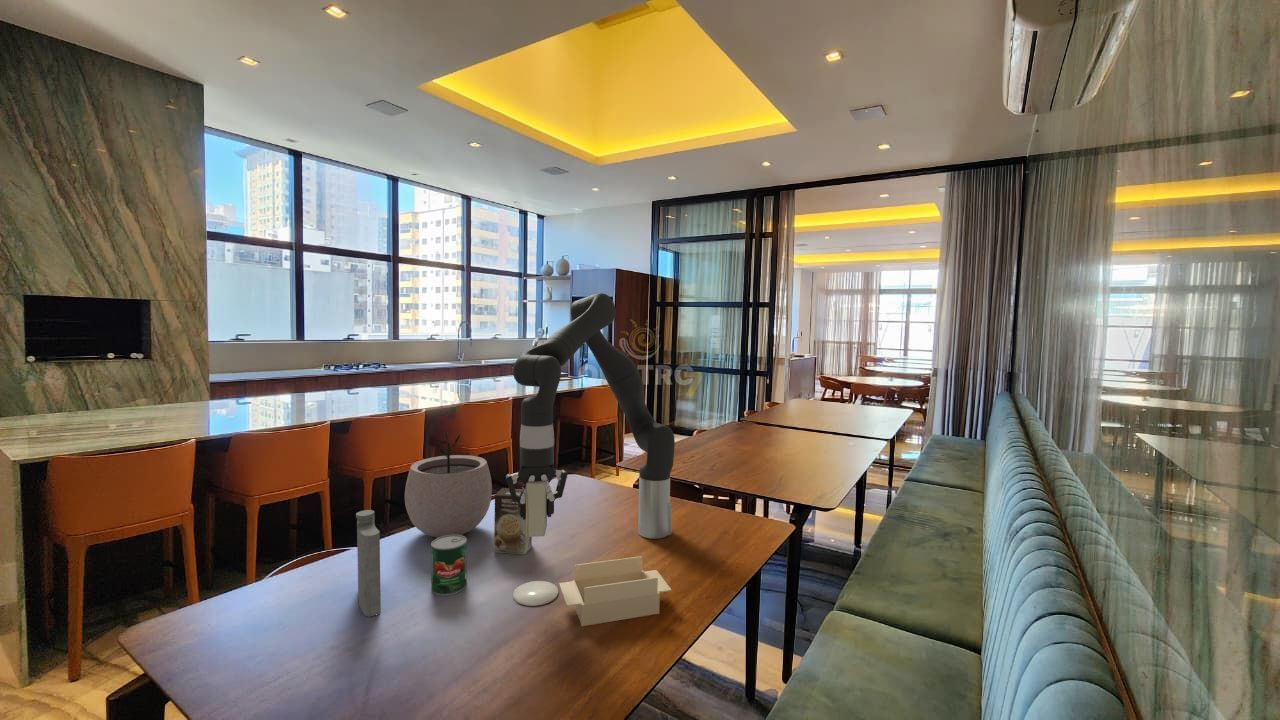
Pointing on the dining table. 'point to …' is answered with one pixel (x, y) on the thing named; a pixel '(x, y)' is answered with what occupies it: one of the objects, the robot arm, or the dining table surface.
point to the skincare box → (536, 509)
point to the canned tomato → (448, 564)
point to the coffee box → (509, 525)
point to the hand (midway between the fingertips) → (536, 516)
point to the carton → (613, 590)
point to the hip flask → (368, 563)
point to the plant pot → (448, 493)
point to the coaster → (535, 593)
